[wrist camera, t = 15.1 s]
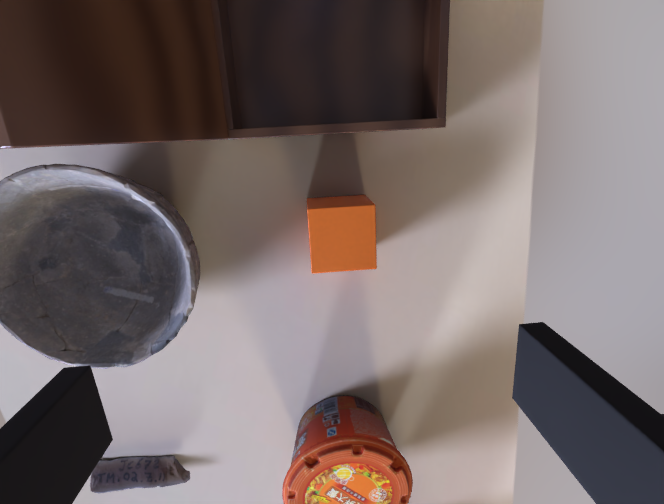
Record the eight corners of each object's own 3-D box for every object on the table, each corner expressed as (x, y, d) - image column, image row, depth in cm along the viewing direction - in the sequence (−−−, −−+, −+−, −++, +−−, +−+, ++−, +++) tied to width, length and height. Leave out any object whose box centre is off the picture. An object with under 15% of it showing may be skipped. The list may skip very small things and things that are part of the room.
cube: (365, 194, 45) (375, 204, 38) (366, 250, 47) (376, 268, 40) (306, 198, 44) (307, 208, 38) (310, 254, 46) (311, 273, 40)
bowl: (4, 179, 41) (-85, 192, 32) (185, 139, 42) (150, 140, 32) (81, 340, 48) (25, 390, 38) (238, 304, 48) (222, 346, 38)
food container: (270, 458, 55) (262, 531, 45) (310, 370, 51) (312, 428, 41) (367, 484, 58) (381, 558, 48) (412, 403, 54) (438, 465, 44)
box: (432, -94, 37) (455, -135, 31) (427, 128, 43) (445, 127, 37) (208, -88, 36) (190, -130, 30) (236, 139, 42) (225, 139, 36)
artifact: (93, 459, 53) (83, 473, 51) (191, 453, 54) (186, 466, 52) (97, 479, 54) (89, 494, 52) (194, 472, 55) (189, 487, 53)
